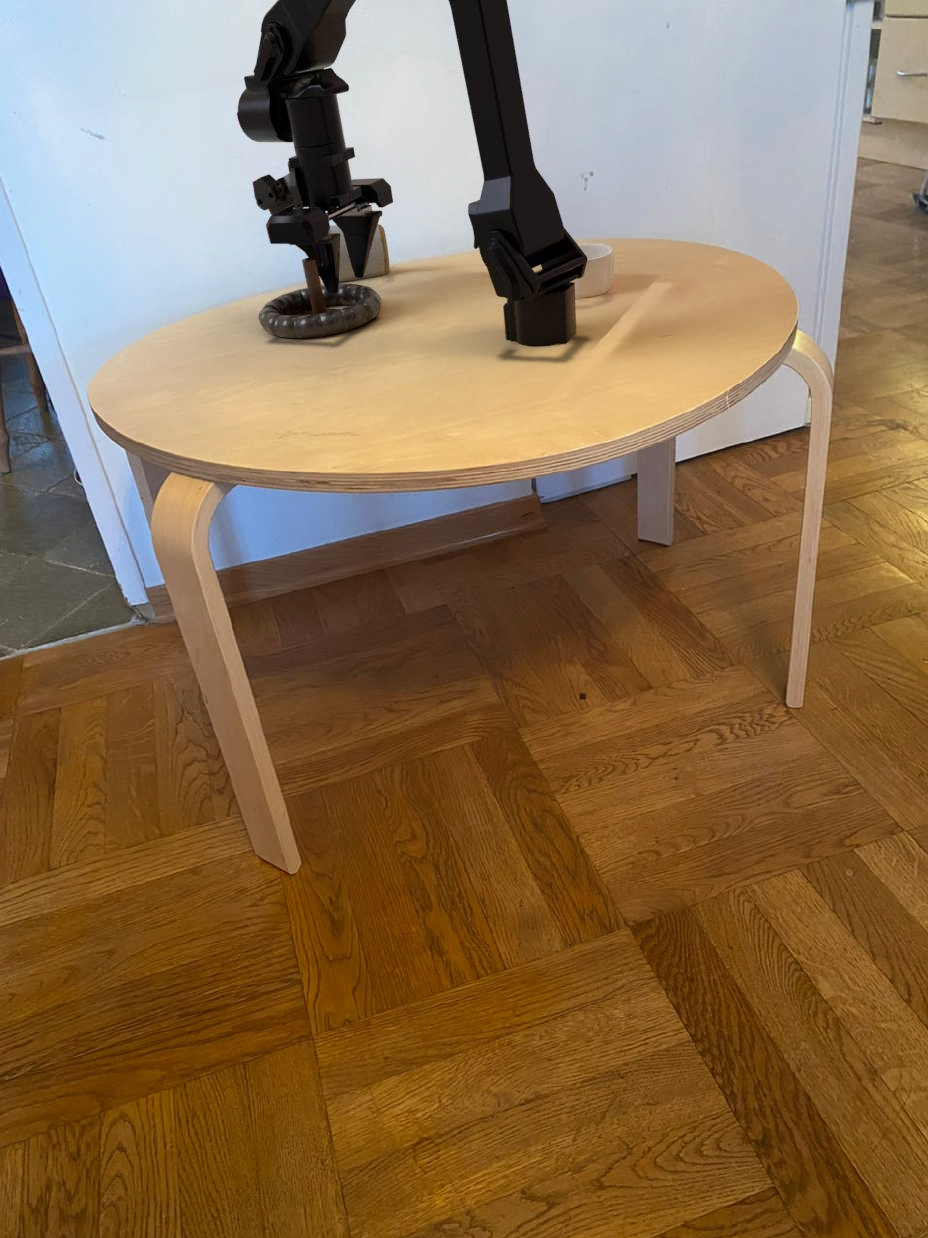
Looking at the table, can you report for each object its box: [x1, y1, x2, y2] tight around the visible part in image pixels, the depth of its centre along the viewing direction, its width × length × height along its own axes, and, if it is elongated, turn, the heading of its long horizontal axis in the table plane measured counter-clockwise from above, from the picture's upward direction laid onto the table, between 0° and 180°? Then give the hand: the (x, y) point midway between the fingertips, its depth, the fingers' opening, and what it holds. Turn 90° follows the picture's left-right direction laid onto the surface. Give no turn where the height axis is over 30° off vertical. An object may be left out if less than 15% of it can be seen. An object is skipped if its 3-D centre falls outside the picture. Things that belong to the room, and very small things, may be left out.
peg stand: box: [297, 257, 340, 336], centre depth 101 cm, size 9×9×8 cm
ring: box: [258, 283, 383, 339], centre depth 103 cm, size 14×14×2 cm
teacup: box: [571, 242, 615, 300], centre depth 102 cm, size 10×8×5 cm
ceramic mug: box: [330, 223, 391, 283], centre depth 119 cm, size 11×8×8 cm
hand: (346, 285), depth 106 cm, fingers open, 6 cm apart
